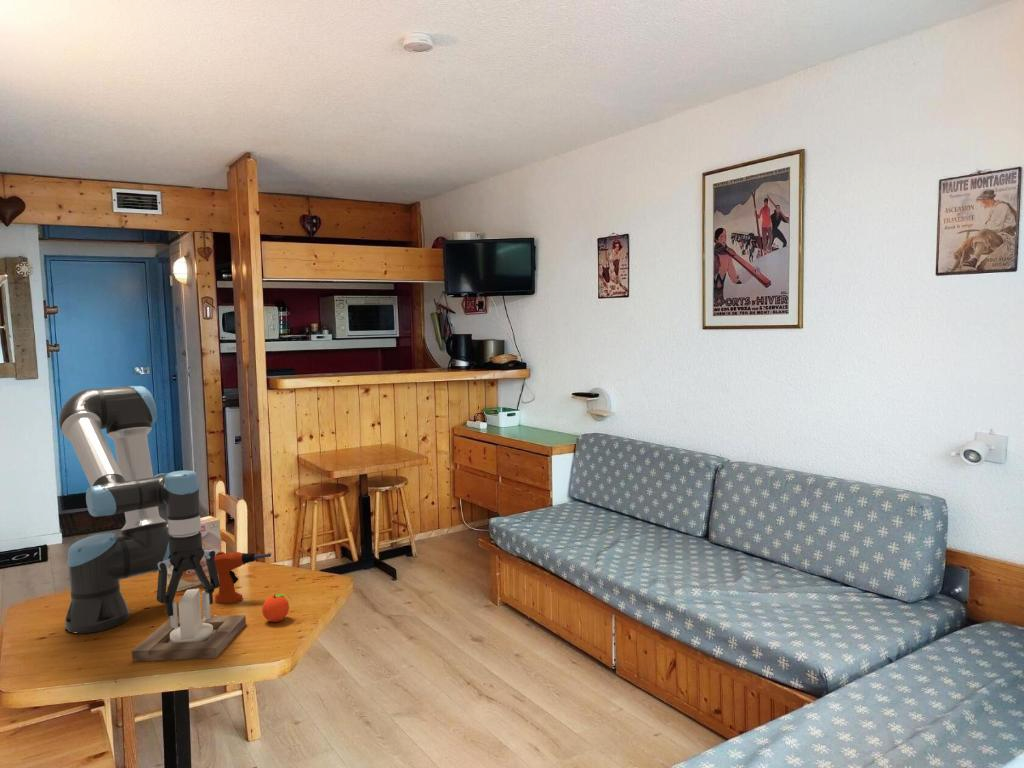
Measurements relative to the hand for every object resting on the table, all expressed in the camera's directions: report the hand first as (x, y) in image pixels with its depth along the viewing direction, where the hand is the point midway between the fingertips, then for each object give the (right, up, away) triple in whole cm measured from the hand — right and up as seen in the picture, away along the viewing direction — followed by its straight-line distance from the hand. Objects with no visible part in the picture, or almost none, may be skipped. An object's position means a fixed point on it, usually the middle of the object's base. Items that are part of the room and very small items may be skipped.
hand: (190, 622), depth 182 cm
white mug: (0, -4, +2) cm, 5 cm away
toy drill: (+3, -3, +28) cm, 29 cm away
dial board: (0, -5, 0) cm, 5 cm away
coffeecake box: (-18, -3, +45) cm, 49 cm away
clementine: (+18, -4, +13) cm, 22 cm away
